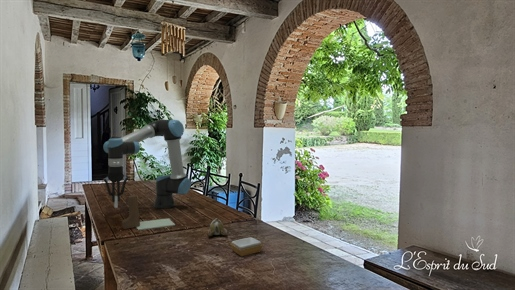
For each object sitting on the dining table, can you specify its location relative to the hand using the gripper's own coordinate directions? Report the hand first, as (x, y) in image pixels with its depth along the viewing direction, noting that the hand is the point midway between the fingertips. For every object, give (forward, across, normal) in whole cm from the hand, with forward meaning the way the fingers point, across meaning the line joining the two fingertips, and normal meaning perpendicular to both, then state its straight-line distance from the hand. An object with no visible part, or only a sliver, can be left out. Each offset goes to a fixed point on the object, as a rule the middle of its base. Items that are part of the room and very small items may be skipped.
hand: (116, 207), depth 184 cm
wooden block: (+13, +8, 0) cm, 15 cm away
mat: (+13, +21, 0) cm, 25 cm away
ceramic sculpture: (+13, +48, -34) cm, 60 cm away
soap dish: (+13, +51, -64) cm, 82 cm away
